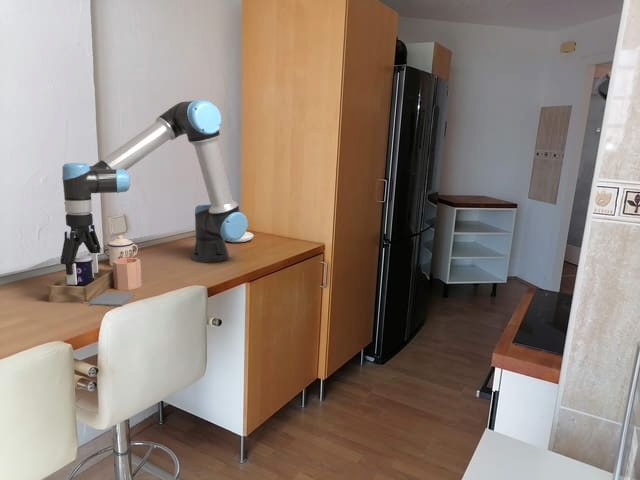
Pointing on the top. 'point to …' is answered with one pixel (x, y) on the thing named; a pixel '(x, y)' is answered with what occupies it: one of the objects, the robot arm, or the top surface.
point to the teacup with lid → (121, 249)
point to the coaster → (112, 299)
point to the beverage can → (84, 270)
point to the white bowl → (244, 237)
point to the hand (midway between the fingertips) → (83, 278)
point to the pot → (127, 273)
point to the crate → (81, 288)
